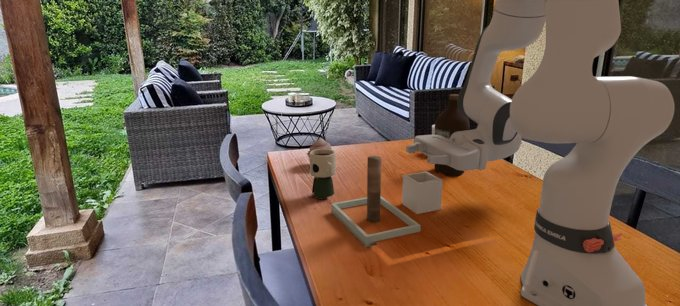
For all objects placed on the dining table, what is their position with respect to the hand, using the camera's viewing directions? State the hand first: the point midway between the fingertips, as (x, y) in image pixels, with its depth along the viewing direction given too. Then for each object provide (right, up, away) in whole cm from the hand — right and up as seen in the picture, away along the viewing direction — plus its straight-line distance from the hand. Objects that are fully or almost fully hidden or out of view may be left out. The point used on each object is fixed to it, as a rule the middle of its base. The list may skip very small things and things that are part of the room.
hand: (417, 154), depth 111 cm
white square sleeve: (+2, -14, +8) cm, 16 cm away
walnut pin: (-11, -16, 0) cm, 19 cm away
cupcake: (-25, -4, +42) cm, 49 cm away
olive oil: (+16, -6, +36) cm, 40 cm away
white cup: (+18, 0, +56) cm, 59 cm away
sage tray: (-11, -17, 0) cm, 20 cm away
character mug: (-24, -12, +17) cm, 31 cm away
